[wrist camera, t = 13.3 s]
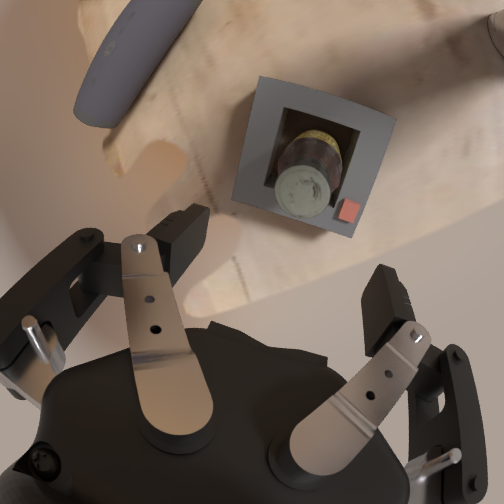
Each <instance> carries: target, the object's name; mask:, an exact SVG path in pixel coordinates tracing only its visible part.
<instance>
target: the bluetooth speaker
mask: <svg viewBox="0 0 504 504" xmlns="http://www.w3.org/2000/svg"><path fill="white" fill-rule="evenodd" d="M202 1H203V0H131V1H130V2H129V3H128V5H127V6H126V7H125V9H124V10H123V11H122V13H121V14H120V16H119V17H118V18H117V20H116V21H115V23H114V24H113V26H112V28H111V29H110V31H109V32H108V34H107V35H106V37H105V39H104V40H103V42H102V44H101V46H100V47H99V49H98V51H97V53H96V55H95V57H94V59H93V61H92V63H91V65H90V67H89V69H88V71H87V74H86V76H85V78H84V80H83V83H82V85H81V88H80V90H79V93H78V96H77V98H76V102H75V106H74V110H73V111H74V115H75V116H76V118H77V119H79V120H80V121H81V122H83V123H84V124H86V125H89V126H94V127H100V128H115V127H116V126H117V125H118V124H119V123H120V121H121V120H122V118H123V117H124V115H125V114H126V112H127V111H128V109H129V107H130V106H131V104H132V103H133V101H134V99H135V98H136V96H137V95H138V93H139V92H140V90H141V89H142V87H143V86H144V84H145V83H146V81H147V80H148V78H149V77H150V76H151V74H152V73H153V72H154V70H155V69H156V67H157V66H158V64H159V63H160V61H161V60H162V58H163V57H164V56H165V54H166V52H167V50H168V49H169V47H170V46H171V44H172V43H173V41H174V40H175V39H176V37H177V36H178V34H179V33H180V32H181V30H182V29H183V27H184V26H185V24H186V23H187V22H188V20H189V19H190V18H191V16H192V15H193V14H194V12H195V11H196V9H197V8H198V6H199V5H200V4H201V2H202Z"/></svg>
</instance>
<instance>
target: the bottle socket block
mask: <svg viewBox="0 0 504 504" xmlns="http://www.w3.org/2000/svg"><path fill="white" fill-rule="evenodd" d="M289 108H290V109H294V110H297V111H301V112H304V113H308V114H311V115H314V116H318V117H321V118H324V119H327V120H330V121H333V122H336V123H339V124H342V125H345V126H348V127H350V128H353V129H354V131H353V134H352V137H351V140H350V143H349V146H348V150H347V153H346V156H345V159H344V162H343V165H342V172H341V178H340V184H339V186H338V188H336V189H335V190H334V191H333V194H332V193H331V198H330V202H329V204H328V205H327V208H326V209H325V210H324V211H323V212H322V213H320V214H318V215H317V216H314V217H312V218H308V219H300V218H297V217H293V216H290V215H289V214H287V213H286V212H284V211H283V210H282V209H281V208H280V206H279V205H278V204H277V201H276V198H275V193H274V187H275V182H276V180H277V178H278V176H276V175H273V174H272V170H273V167H274V163H275V159H276V155H277V152H278V148H279V144H280V140H281V136H282V133H283V129H284V125H285V121H286V117H287V114H288V110H289ZM395 121H396V119H395V118H393V117H390V116H388V115H386V114H383V113H381V112H378V111H376V110H373V109H371V108H368V107H366V106H363V105H360V104H358V103H355V102H352V101H349V100H346V99H344V98H341V97H338V96H335V95H331V94H328V93H325V92H322V91H319V90H315V89H312V88H308V87H304V86H301V85H297V84H293V83H289V82H285V81H281V80H277V79H272V78H267V77H263V76H259V80H258V85H257V89H256V93H255V97H254V101H253V105H252V109H251V114H250V118H249V122H248V126H247V131H246V135H245V140H244V144H243V149H242V153H241V158H240V162H239V167H238V171H237V176H236V181H235V185H234V190H233V195H232V200H233V201H237V202H240V203H244V204H247V205H250V206H254V207H257V208H260V209H263V210H267V211H270V212H273V213H276V214H280V215H283V216H286V217H289V218H292V219H295V220H298V221H301V222H305V223H308V224H311V225H314V226H317V227H320V228H323V229H326V230H329V231H332V232H334V233H337V234H340V235H343V236H346V237H349V238H352V236H353V234H354V231H355V229H356V227H357V224H358V222H359V219H360V217H361V215H362V212H363V210H364V207H365V205H366V202H367V200H368V197H369V195H370V192H371V190H372V187H373V184H374V182H375V179H376V176H377V174H378V171H379V168H380V166H381V163H382V160H383V157H384V154H385V151H386V149H387V146H388V143H389V140H390V137H391V134H392V131H393V127H394V124H395Z"/></svg>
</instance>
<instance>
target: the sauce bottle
mask: <svg viewBox="0 0 504 504" xmlns="http://www.w3.org/2000/svg"><path fill="white" fill-rule="evenodd" d="M341 172H342V160H341V155H340V151H339V147H338V144H337V142H336V141H335V139H334V138H333V137H332V136H331V135H329V134H328V133H326V132H324V131H321V130H315V129H313V130H308V131H305V132H303V133H301V134H300V135H299V136H298V137H297V138H295V139H294V140H293V141H292V142H291V143H290V144H289V145H288V146H287V147H286V148H285V150H284V152H283V153H282V155H281V156H280V158H279V160H278V178H277V180H276V182H275V187H274V193H275V198H276V201H277V204H278V205H279V206H280V208H281V209H282V210H283V211H284V212H286V213H287V214H289V215H290V216H293V217H297V218H300V219H308V218H312V217H314V216H317V215H318V214H320V213H322V212H323V211H324V210H325V209H326V208H327V205H328V204H329V202H330V198H331V193H332V192H333V191H334V190H335V189H336V188H338V186H339V184H340V178H341Z"/></svg>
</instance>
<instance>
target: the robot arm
mask: <svg viewBox="0 0 504 504" xmlns="http://www.w3.org/2000/svg"><path fill="white" fill-rule="evenodd" d="M488 29H489V33H490V36H491V39H492V41H493V43H494V45H495V46H496V48H497V50H498V51H499V52H500V54H501V55H502V56H503V57H504V10H501V11H498V12H496V13H493V14H492V15H490V17H489V20H488ZM209 214H210V209H209V208H208V207H205V206H201V205H198V204H195V203H193V204H192V205H191V206H190V207H188V208H187V209H186V210H185V211H181V210H179V211H176V212H173V213H171V214H169V215H168V216H167V217H166V218H165V219H163V220H162V221H161V222H160V224H157V225H156V226H155V227H154V228H153V229H151V230H150V231H149V232H148V233H147V234H146V235H142V234H136V235H131V236H128V237H126V238H125V239H124V240H123V241H122V243H121V244H118V243H111V242H104V235H103V232H102V231H100V230H98V229H96V228H84V229H81V230H78V231H76V232H75V233H74V234H73V235H71V236H70V237H68V238H67V239H66V240H65V241H63V242H62V243H61V244H60V245H59V246H57V247H56V248H55V249H54V250H53V251H51V252H50V253H49V254H48V255H47V256H45V257H44V258H43V259H42V260H41V261H40V262H38V263H37V264H36V265H35V266H34V267H33V268H32V269H31V270H30V271H29V272H27V273H26V274H25V275H24V276H23V277H22V278H21V279H20V280H19V281H18V282H17V283H16V284H15V285H14V286H13V287H12V288H10V289H9V290H8V291H7V292H6V293H5V294H4V295H3V296H2V297H1V298H0V383H1V384H2V385H3V386H5V387H6V388H7V390H8V391H9V392H10V393H11V394H12V395H13V396H14V397H15V398H17V399H19V400H28V401H30V402H31V403H32V404H33V405H35V406H36V407H37V408H39V409H40V410H41V414H40V422H39V427H38V431H37V434H36V438H35V440H34V442H33V444H32V446H31V447H30V448H29V450H28V451H27V452H26V453H25V454H24V455H23V456H22V457H20V458H19V459H18V460H17V461H16V462H15V463H13V464H12V465H11V466H10V467H8V468H7V469H6V470H5V471H4V472H3V473H2V474H1V476H0V504H476V503H479V502H480V501H481V500H482V499H483V497H484V496H485V494H486V491H487V486H488V472H487V456H486V445H485V437H484V429H483V422H482V416H481V410H480V405H479V400H478V395H477V390H476V386H475V382H474V378H473V373H472V370H471V366H470V362H469V359H468V356H467V355H466V353H465V352H464V351H463V349H461V348H460V347H459V346H457V345H455V344H450V345H448V346H447V347H446V348H445V350H444V351H442V350H440V349H439V348H437V347H435V346H433V345H432V344H431V336H430V334H429V332H428V331H427V330H426V329H425V328H424V327H423V326H422V325H421V324H419V323H417V322H416V319H415V316H414V312H413V309H412V306H411V302H410V300H409V296H408V293H407V290H406V288H405V287H404V286H403V284H402V283H401V282H399V280H398V277H397V274H396V271H395V269H394V268H391V267H388V266H385V265H383V264H379V265H378V266H377V268H376V269H375V271H374V273H373V275H372V277H371V279H370V281H369V282H368V284H367V286H366V288H365V290H364V292H363V295H362V298H361V307H362V317H363V329H364V341H365V356H368V357H372V359H371V360H370V361H369V362H368V363H367V364H366V365H365V366H364V367H363V368H362V369H361V370H360V371H359V372H358V373H357V374H356V375H355V376H354V377H353V378H352V379H351V380H350V381H349V382H347V381H346V380H345V379H344V378H343V377H342V376H341V375H339V374H338V373H337V372H336V371H334V370H332V369H331V368H329V367H327V360H328V358H327V357H325V356H321V355H318V354H314V353H310V352H307V351H303V350H299V349H287V348H276V347H268V346H266V345H264V344H262V343H261V342H259V341H257V340H255V339H254V338H252V337H250V336H248V335H246V334H245V333H243V332H241V331H239V330H236V329H233V328H230V327H228V326H225V325H222V324H219V323H216V322H213V321H211V322H210V324H209V326H208V328H207V329H205V328H186V329H184V327H183V323H182V320H181V317H180V313H179V310H178V307H177V303H176V300H175V296H174V293H173V289H172V288H173V286H174V285H175V284H176V282H177V281H178V279H179V278H180V277H181V276H182V274H183V273H184V272H185V270H186V269H187V268H188V266H189V265H190V264H191V262H192V261H193V260H194V259H195V257H196V256H197V255H198V253H199V252H200V251H201V249H202V248H203V245H204V242H205V238H206V231H207V226H208V220H209ZM77 277H78V281H77V282H76V283H75V284H74V285H73V287H71V288H70V285H71V284H72V282H73V281H74V280H75V279H76V278H77ZM107 295H110V296H116V297H123V298H124V304H125V313H126V322H127V330H128V337H129V344H130V347H129V348H127V349H124V350H121V351H118V352H116V353H113V354H110V355H107V356H104V357H101V358H98V359H95V360H92V361H89V362H86V363H84V364H81V365H77V366H74V367H71V368H69V369H66V370H64V371H62V370H63V367H64V365H65V360H66V358H65V353H64V351H65V350H66V348H67V347H68V346H69V344H70V343H71V342H72V340H73V339H74V337H75V336H76V335H77V334H78V332H79V331H80V330H81V328H82V327H83V326H84V324H85V323H86V322H87V321H88V319H89V318H90V317H91V315H92V314H93V313H94V312H95V310H96V309H97V308H98V307H99V305H100V304H101V303H102V302H103V300H104V299H105V298H106V297H107ZM405 390H407V391H408V407H409V408H408V409H409V458H408V463H407V464H406V466H405V467H403V466H402V464H401V463H400V461H399V460H398V458H397V457H396V455H395V454H394V452H393V451H392V449H391V448H390V446H389V444H388V443H387V441H386V440H385V438H384V437H383V435H382V433H381V432H380V431H379V429H378V426H379V425H380V423H381V422H382V421H383V420H384V418H385V417H386V416H387V414H388V413H389V412H390V410H391V409H392V408H393V406H394V405H395V404H396V402H397V401H398V400H399V398H400V397H401V395H402V394H403V392H404V391H405ZM442 392H444V394H445V406H444V408H443V410H442V411H441V412H440V413H439V405H438V396H439V395H440V394H441V393H442Z"/></svg>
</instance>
